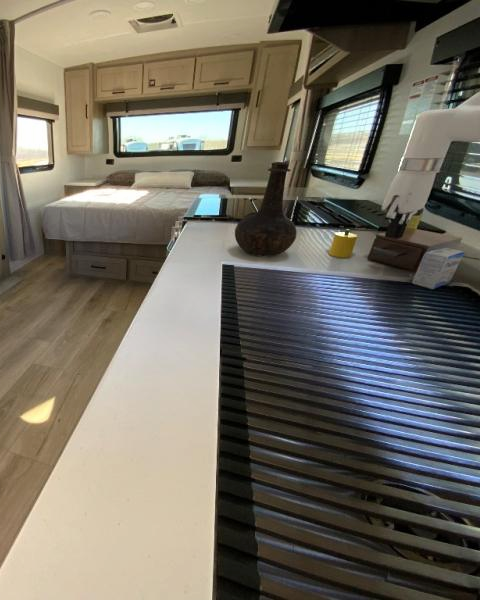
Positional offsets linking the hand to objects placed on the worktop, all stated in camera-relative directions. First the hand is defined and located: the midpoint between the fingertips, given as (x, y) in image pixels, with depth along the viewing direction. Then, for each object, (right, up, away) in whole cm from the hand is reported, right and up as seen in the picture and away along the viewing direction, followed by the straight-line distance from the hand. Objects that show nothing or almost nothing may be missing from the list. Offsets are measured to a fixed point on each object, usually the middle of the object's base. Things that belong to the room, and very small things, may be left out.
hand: (393, 237), depth 91 cm
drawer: (+9, -5, +7) cm, 12 cm away
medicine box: (+4, -13, -6) cm, 15 cm away
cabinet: (+12, -6, +8) cm, 16 cm away
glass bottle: (-26, -1, +20) cm, 33 cm away
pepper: (-3, -3, +15) cm, 15 cm away
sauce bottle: (+21, +1, +21) cm, 29 cm away
